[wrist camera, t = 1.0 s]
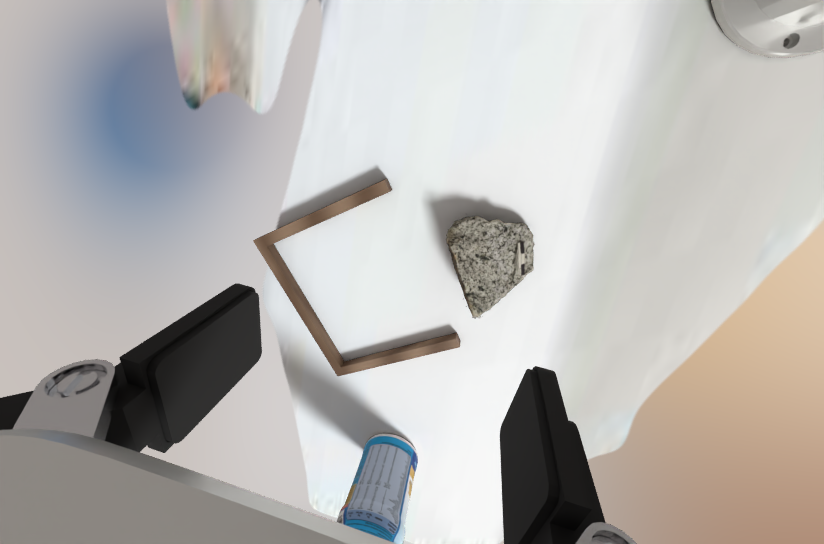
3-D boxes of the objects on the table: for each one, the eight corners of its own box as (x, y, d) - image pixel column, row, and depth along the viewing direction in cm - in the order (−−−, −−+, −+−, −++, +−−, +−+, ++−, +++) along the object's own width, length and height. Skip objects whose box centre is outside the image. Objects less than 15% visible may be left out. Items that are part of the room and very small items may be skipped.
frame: (387, 178, 32) (383, 180, 31) (460, 340, 38) (459, 347, 37) (259, 237, 37) (253, 240, 36) (341, 370, 43) (337, 376, 42)
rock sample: (575, 292, 29) (501, 320, 25) (517, 304, 36) (452, 327, 32) (535, 186, 30) (459, 198, 26) (487, 217, 37) (421, 230, 33)
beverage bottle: (402, 425, 46) (352, 618, 28) (429, 465, 48) (398, 666, 30) (355, 436, 49) (281, 616, 31) (382, 473, 51) (329, 660, 33)
